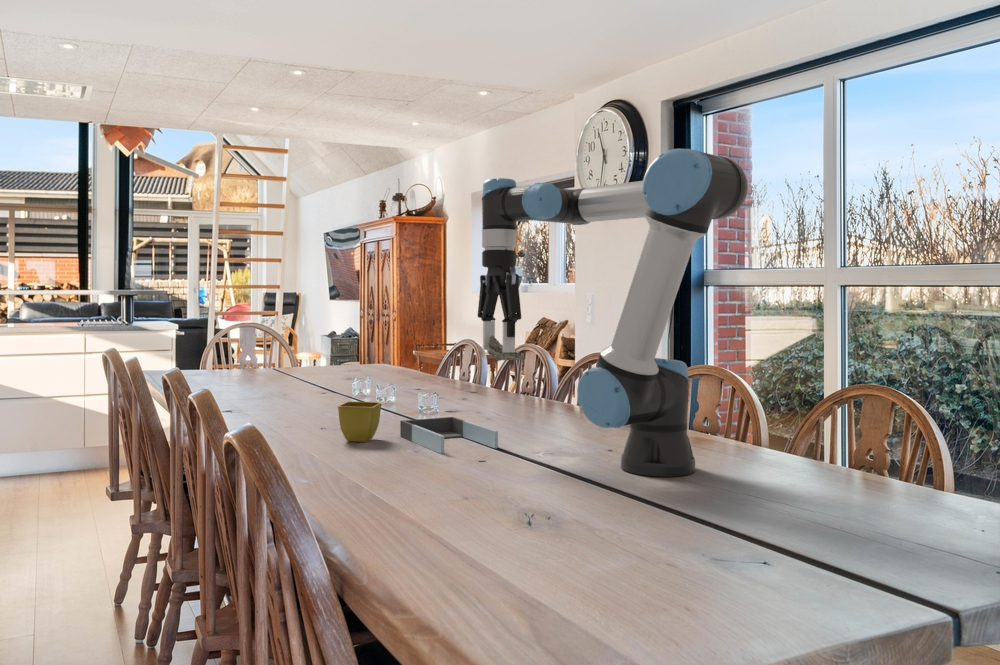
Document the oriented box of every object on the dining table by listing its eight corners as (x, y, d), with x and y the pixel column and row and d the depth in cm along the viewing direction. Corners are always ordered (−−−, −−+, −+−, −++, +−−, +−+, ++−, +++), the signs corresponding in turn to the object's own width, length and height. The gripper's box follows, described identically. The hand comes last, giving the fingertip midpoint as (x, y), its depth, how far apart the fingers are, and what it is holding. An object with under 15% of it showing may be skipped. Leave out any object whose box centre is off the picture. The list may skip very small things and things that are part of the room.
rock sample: (530, 344, 179) (503, 318, 182) (504, 367, 177) (477, 340, 180) (534, 361, 188) (508, 335, 191) (509, 383, 187) (484, 357, 190)
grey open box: (465, 436, 207) (465, 420, 207) (411, 441, 200) (411, 425, 200) (453, 432, 214) (453, 416, 213) (400, 436, 207) (400, 420, 206)
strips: (497, 448, 192) (498, 431, 192) (440, 453, 185) (441, 436, 185) (465, 436, 207) (465, 420, 207) (411, 441, 200) (411, 425, 200)
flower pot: (382, 437, 205) (382, 401, 204) (373, 444, 196) (373, 406, 196) (347, 436, 206) (347, 401, 205) (337, 443, 197) (337, 406, 197)
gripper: (538, 247, 175) (537, 353, 176) (491, 251, 194) (490, 347, 195) (507, 246, 172) (507, 354, 173) (462, 251, 191) (462, 348, 192)
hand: (498, 350), depth 184 cm, fingers closed on rock sample, 9 cm apart
